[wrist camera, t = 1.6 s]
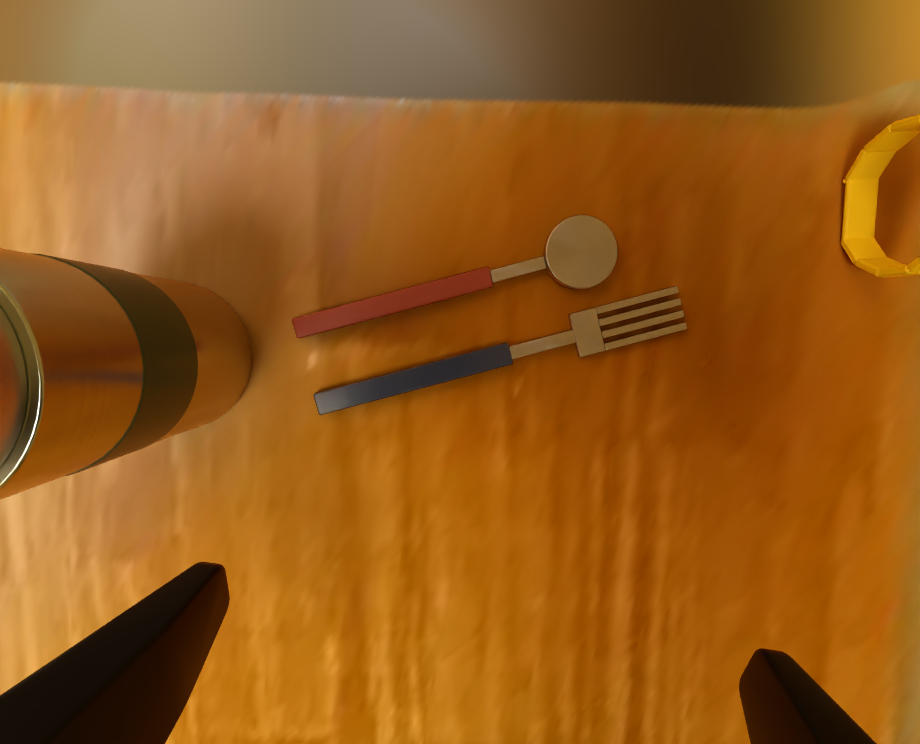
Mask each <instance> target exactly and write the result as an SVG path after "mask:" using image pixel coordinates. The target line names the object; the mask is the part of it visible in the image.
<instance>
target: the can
mask: <svg viewBox="0 0 920 744" xmlns="http://www.w3.org/2000/svg"><path fill="white" fill-rule="evenodd" d="M250 369H251V346H250V342H249V338H248V335H247V332H246V329H245V327H244V325H243V323H242V321H241V319H240V318H239V316H238V315H237V314H236V312H235V311H234V310H233V309H232V308H231V306H230V305H229V304H228V303H227V302H225V301H224V300H223V299H222V298H221V297H219V296H218V295H216V294H215V293H213V292H211V291H209V290H207V289H205V288H203V287H200V286H197V285H194V284H190V283H185V282H179V281H174V280H169V279H163V278H158V277H152V276H147V275H142V274H136V273H131V272H127V271H124V270H120V269H115V268H110V267H105V266H100V265H94V264H89V263H84V262H79V261H73V260H68V259H63V258H58V257H52V256H47V255H42V254H30V253H23V252H18V251H13V250H7V249H2V248H0V500H1V499H3V498H6V497H9V496H11V495H14V494H17V493H20V492H22V491H25V490H28V489H30V488H33V487H36V486H38V485H41V484H44V483H47V482H49V481H52V480H55V479H57V478H60V477H63V476H68V475H71V474H74V473H77V472H80V471H83V470H86V469H88V468H91V467H94V466H96V465H99V464H102V463H105V462H107V461H110V460H113V459H115V458H118V457H121V456H123V455H126V454H129V453H131V452H134V451H137V450H139V449H142V448H144V447H147V446H149V445H151V444H153V443H155V442H158V441H161V440H163V439H166V438H169V437H171V436H174V435H177V434H180V433H182V432H185V431H188V430H190V429H193V428H196V427H199V426H201V425H204V424H207V423H209V422H211V421H213V420H215V419H217V418H219V417H220V416H222V415H223V414H225V413H226V412H227V411H228V410H229V409H230V408H231V407H232V406H233V405H234V404H235V403H236V402H237V400H238V399H239V397H240V396H241V394H242V393H243V391H244V389H245V386H246V384H247V381H248V378H249V375H250Z"/></svg>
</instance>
